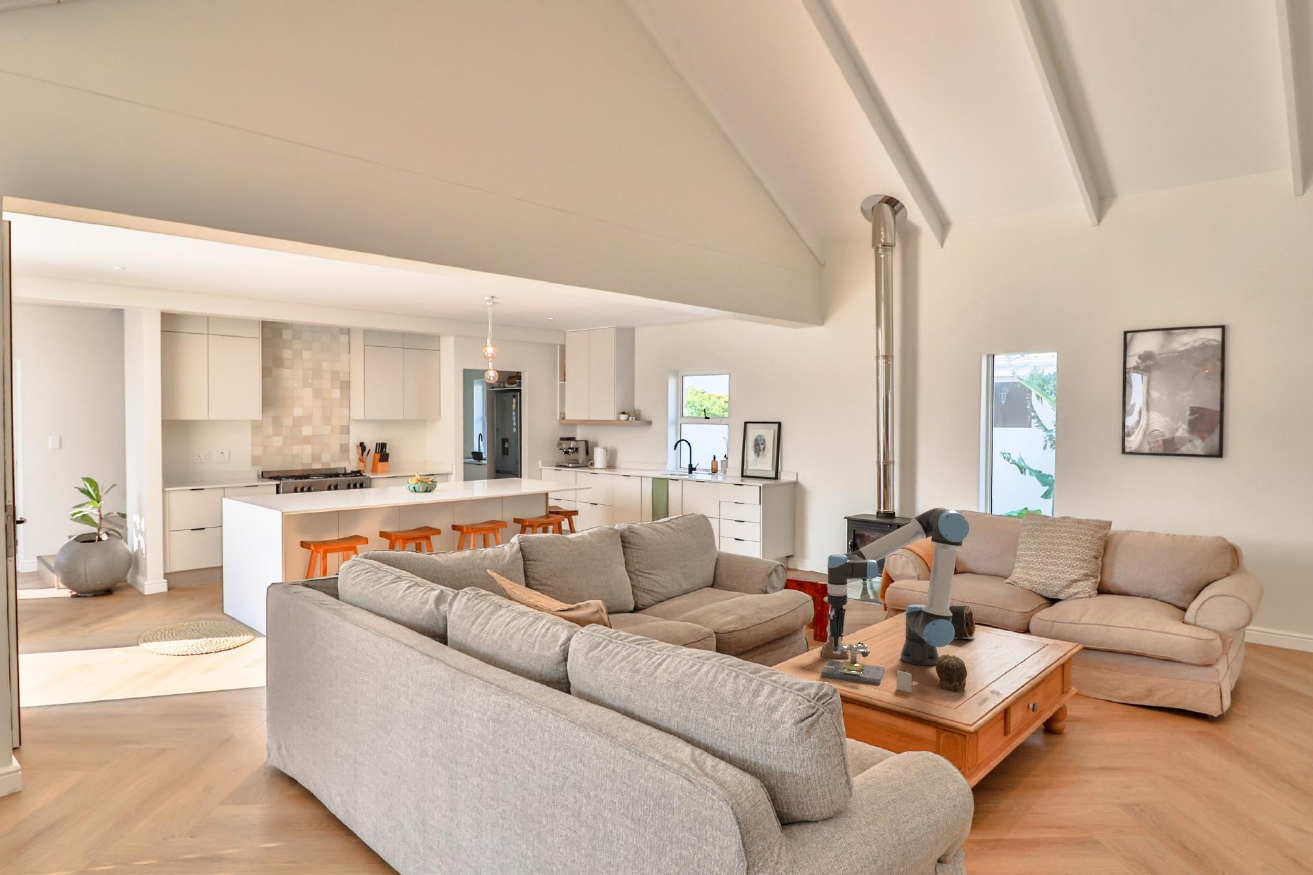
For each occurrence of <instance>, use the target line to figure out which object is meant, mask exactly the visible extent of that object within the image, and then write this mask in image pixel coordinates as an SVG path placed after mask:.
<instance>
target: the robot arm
mask: <svg viewBox="0 0 1313 875" xmlns="http://www.w3.org/2000/svg"><path fill="white" fill-rule="evenodd" d="M969 531H970V524H969V521H968V519H967V518H966V516H965V515H963V513H960V512H959V511H957V510H952V509H946V508H944V507H934V508H932V509H928V510H926V511H924V512H922V513H921V514H918V515H917V516H915V517H913V518H912V519H911V521H910V522H908V524H905V525H903V526H901V527H899V528H898V529H896V530H893V531H892V532H890V533H887V534H886V535H884V536H882V537H880V538H878V539H876V540H874V541H872V542H871V543H869V544H867V545H865V546H863V547H861V548H859V549H857V550H855V551H852V552H845V553H843V554H837V553H834V554H830V555H829V556H828V557H827V565H826V566H827V584H826V588H827V593H828V594H827V596H828V600H827V602H826V603H827V604H828V605H829V606H830V607H831V608H830V611H831V614H829V613H828V616H827V617H828V620H829V623H830V633H831V637H833V646H834V645H837V646H841V642H842V641H841V637H842V638H843V637H844V633H843V628H844V625H845V616H846V610H847V609H846V608H844V606H846V605H847V603H848V602H847V599H848V596H847V594H848V580H870V579H871V580H872V579H876V578H877V577H878V574H879V567H878V561H880V560H882V559H883V558H886V557H888V556H890V555H891V554H893V553H896V552H897V551H899V550H901V549H903V548H905V547H907V546H909V545H911V544H913V543H915V542H916V541H917V542H918V540H920V539H921V540H926V539H928V538H930V537H931V540H930V542H931V543H932V545H933V546H934V547H933V554H932V562H931V569H930V576H929V583H928V590H927V597H926V598H927V599H926V603H925V604H909V605H907V606H906V608H905V640H904V644H903V647H902V649H901V651H900V660H902V662H905V663H908V664H911V665H916V666H936V662H937V660H938V658H939V657H940V656H939V653H938V650H937V648H944V647H946V646H948V645H949V644H950V643H952V641H954V639H953V638H954V635H955V630H954V627H953V625H952V623H951V620H952V613H951V612H950V610H949V607H950V603H951V596H952V589H953V582H954V576H955V567H956V560H957V553H958V549H960V548H961V547H962V546H963V541H964V540H965V538H967V537H968V535H969ZM844 629H845V628H844ZM840 636H841V637H840ZM833 653H836V654H840V653H841V651H836V652H835V651H833Z"/></svg>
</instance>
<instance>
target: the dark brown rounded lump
mask: <svg viewBox="0 0 1313 875" xmlns="http://www.w3.org/2000/svg"><path fill="white" fill-rule="evenodd" d="M935 672H936V675H937V676H938V679H939V685H940V687H941V689H944V690H946V691H949V692H955V693H956V692H958V693H961V692H963V691H964V690H965V688H966V685H967V684H966V683H967V682H966V681H967V676H968V670H967V666H966V663H965V662H964V660H963V659H962V658H960V657H958V656H956V655H954V654H953V655H950V654H949V653H948V654H943V655H940V656H939V658H938V660H937V662H936V664H935Z"/></svg>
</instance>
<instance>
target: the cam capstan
mask: <svg viewBox="0 0 1313 875" xmlns="http://www.w3.org/2000/svg"><path fill="white" fill-rule="evenodd" d="M832 649H833V651H835V652H836V651H848V652H849V653H850V655H849V658H850V660H845V661H842V662H843V670H844V669H847V670H848V671H855V672H862V673H863V672H864V665H865V663H864V662H862V661H859V660H858V658H857V656H858V655H861V656H862V658H867V657H869V655H870V654H871V651H870V650H868V645H866V644H864V643H863V642H862V641H859V642H857V644H852V643H850V644H848V645H847V646H846V647H841V646H837V645H834V646H833V647H832Z"/></svg>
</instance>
